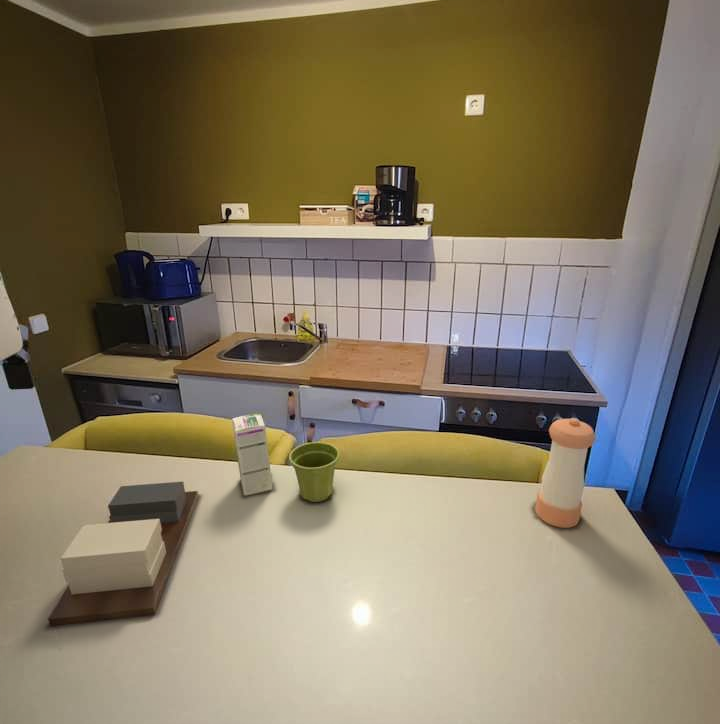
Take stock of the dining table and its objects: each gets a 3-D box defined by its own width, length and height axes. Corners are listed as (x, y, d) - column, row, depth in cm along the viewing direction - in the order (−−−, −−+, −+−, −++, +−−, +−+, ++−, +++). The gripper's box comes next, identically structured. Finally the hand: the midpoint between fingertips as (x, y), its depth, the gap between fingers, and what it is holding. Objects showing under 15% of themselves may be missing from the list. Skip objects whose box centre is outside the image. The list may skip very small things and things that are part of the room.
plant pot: (287, 484, 86) (284, 446, 83) (332, 474, 89) (330, 438, 86) (298, 513, 78) (295, 472, 75) (346, 501, 81) (345, 462, 78)
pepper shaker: (584, 530, 73) (606, 431, 67) (540, 525, 74) (557, 428, 68) (571, 502, 80) (590, 410, 73) (531, 499, 81) (545, 408, 74)
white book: (64, 570, 59) (60, 558, 58) (86, 536, 65) (83, 525, 64) (147, 562, 60) (144, 550, 59) (162, 529, 66) (159, 518, 66)
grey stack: (111, 527, 73) (105, 505, 71) (124, 507, 78) (118, 486, 76) (179, 522, 74) (174, 500, 73) (187, 502, 79) (183, 481, 78)
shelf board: (49, 625, 57) (47, 619, 57) (125, 501, 81) (124, 496, 81) (155, 614, 59) (153, 607, 58) (198, 495, 83) (197, 490, 83)
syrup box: (273, 489, 85) (267, 424, 79) (242, 497, 83) (234, 430, 77) (268, 474, 90) (261, 411, 84) (239, 480, 88) (231, 417, 82)
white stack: (70, 594, 60) (62, 571, 59) (91, 559, 67) (85, 536, 65) (152, 586, 62) (147, 562, 60) (166, 552, 68) (161, 530, 66)
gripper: (-23, 266, 60) (11, 379, 66) (-145, 287, 44) (-85, 435, 49) (35, 265, 60) (63, 378, 66) (-63, 287, 44) (-14, 432, 50)
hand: (0, 402), depth 58 cm, fingers open, 9 cm apart
